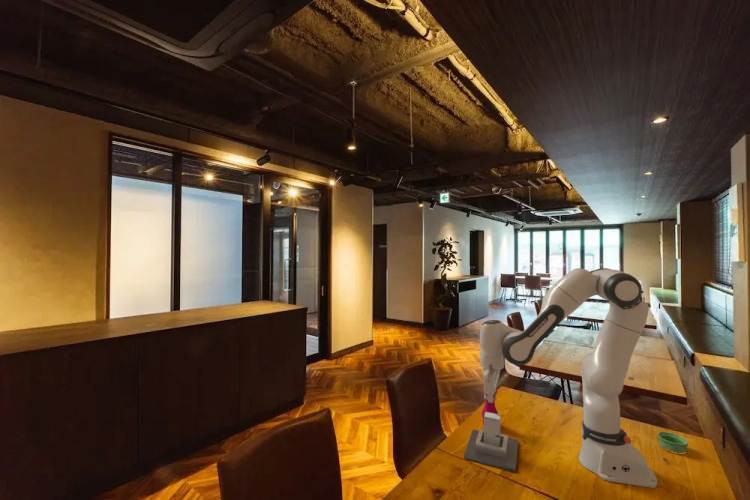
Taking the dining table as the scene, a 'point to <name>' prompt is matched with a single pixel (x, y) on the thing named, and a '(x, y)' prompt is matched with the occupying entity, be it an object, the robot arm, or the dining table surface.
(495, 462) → the ring block
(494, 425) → the skincare box
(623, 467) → the robot arm
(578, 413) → the dining table surface
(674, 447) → the ramekin
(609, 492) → the dining table surface
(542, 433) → the dining table surface
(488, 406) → the pepper mill
